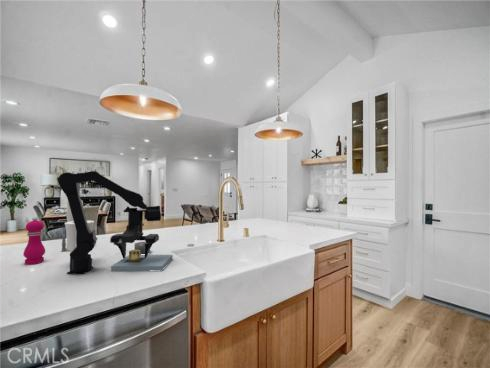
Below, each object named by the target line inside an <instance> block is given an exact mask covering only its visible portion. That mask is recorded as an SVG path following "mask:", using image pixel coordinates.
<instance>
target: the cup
mask: <svg viewBox="0 0 490 368" xmlns="http://www.w3.org/2000/svg"><path fill="white" fill-rule="evenodd" d="M86 220H87V219H86ZM94 223H95V221H94V220H87V224H88V227H89V229H90V230H91V231H94V229H93V228H94ZM64 227H65V228H64V229H65V234H66V237H67V236H68V243H69V248H70V251H69V252H70V253H71V252H72V251H73V250H74V249H75V248H76V247H77V244H76V235H77V231H76V227H75V224H74V221H71V222H67V221H66V222H64ZM70 253H69V254H70Z"/></svg>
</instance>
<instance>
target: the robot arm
mask: <svg viewBox="0 0 490 368" xmlns="http://www.w3.org/2000/svg"><path fill="white" fill-rule="evenodd" d="M88 182H94V183H96V184H98V185H100V186H101V187H102V188H105V189H106V190H109V191H111V192H112V193H114V194H115V195H117V196H119V197H120V198H122V199H123V200H124V201H125V202H126V203H128V204H129V205H130V206H131V207H130V206H126V207H125V209H123V212H124V213H128V214H127V217H128V218H127V221H128V222H127V225H126V227H125V228H126V230H125V231H124V232H122V233H116V234H114V235H111V236H110V239H109V241H110V242H109V243H110V244H113V245H114V246H117V247H118V249H119V251H120V254H121V257H122V259H123V258H125V257H127V256H126V255H127V243H128V244H133V243H135V242H136V241H144V242H147V243H145V258H147V256H148V255H149V254H150V253H149V251H150V252H151V248H152V246H153V244H156V243H157V242H158V241H159V239H160V236H159V234H158V233H149V234H148V235H144V232H143V231H144V230H143V226H145V225H144V222H143V219H144V220H146V222H161V220H162V213H161V206H160V205H152V206H147V204H145V203H144V197H143V196H142V195H141V194H140V193H138V192H135V191H133V190H130V189H127V188H125V187H123V186H121V185H120V184H118V183H116V182H114V181H113V180H111V179H109V178H107V176H104V175H102V174H100V173H99V172H98V171H96V170H91V171H87V172H80V173H79V172H78V173H72V172H62V173H61V174H60V175H59V176H58V177H57V183H58V185H59V186H60V189H61V190H62V192H63V193H64V195H65V197H66V198H67V201H68V202H69V206H70V209H71V213H72V216H73V220H74V224H75V227H76V231H77V235H76V244H77V247H76V248H75V249H74V250H73V251H72V252H71V253H69V271H66V274H68V275H74V274H75V275H77V274H78V275H81V274H86V273H88V272H89V271H91V270H92V269H94V267H93V258H92V254H90V252H92V251H93V249H94V248H95V247H96V244H97V241H98V237H97V235H96V229H95V230H94V229H93V230H92V231H91V230H90V229H89V227H88V224H87V217H86V214H85V209H84V205H83V206H82V201H81V200H82V199H81V194H80V190H81V185H80V184H83V183H88ZM138 208H140V209H138ZM148 253H149V254H148Z"/></svg>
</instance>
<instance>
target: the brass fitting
mask: <svg viewBox="0 0 490 368" xmlns="http://www.w3.org/2000/svg"><path fill="white" fill-rule="evenodd" d="M128 255H129V263H140V250H135V249H131V250H129V251H128Z"/></svg>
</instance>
